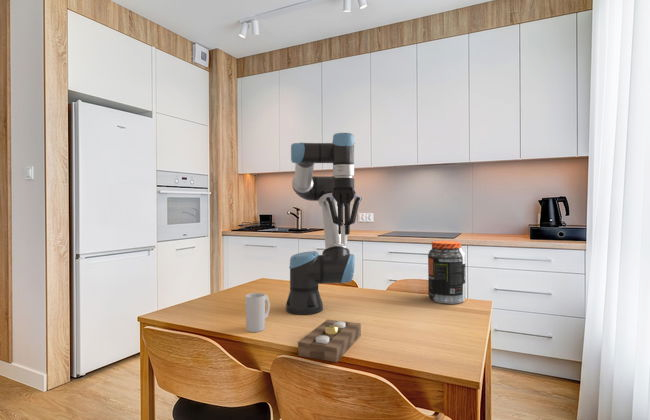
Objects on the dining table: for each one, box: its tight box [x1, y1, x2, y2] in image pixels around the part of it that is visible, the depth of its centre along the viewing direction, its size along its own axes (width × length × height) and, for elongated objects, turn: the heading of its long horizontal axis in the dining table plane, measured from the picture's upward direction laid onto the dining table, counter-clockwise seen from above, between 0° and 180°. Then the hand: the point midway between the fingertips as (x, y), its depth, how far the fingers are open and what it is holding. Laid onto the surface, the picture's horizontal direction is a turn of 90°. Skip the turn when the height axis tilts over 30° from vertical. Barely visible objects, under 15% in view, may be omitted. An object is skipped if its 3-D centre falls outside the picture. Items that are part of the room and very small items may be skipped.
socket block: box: [297, 318, 362, 363], centre depth 118 cm, size 22×12×4 cm, turn 157°
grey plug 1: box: [316, 335, 329, 344], centre depth 111 cm, size 4×4×4 cm
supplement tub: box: [427, 240, 467, 305], centre depth 168 cm, size 16×16×26 cm
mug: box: [245, 292, 271, 333], centre depth 134 cm, size 10×7×12 cm, turn 142°
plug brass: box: [325, 325, 338, 336], centre depth 118 cm, size 4×4×4 cm
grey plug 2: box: [333, 320, 346, 328], centre depth 124 cm, size 4×4×4 cm
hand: (344, 243), depth 135 cm, fingers closed
